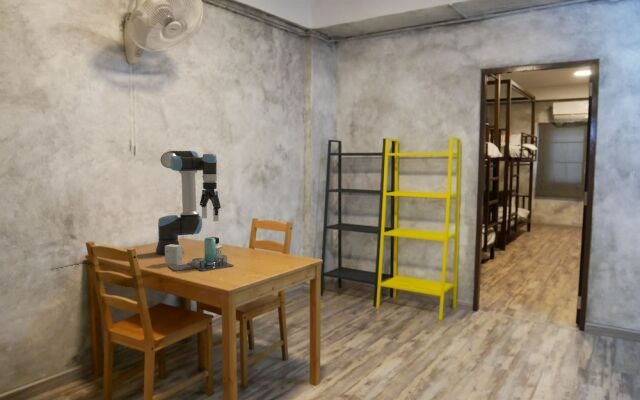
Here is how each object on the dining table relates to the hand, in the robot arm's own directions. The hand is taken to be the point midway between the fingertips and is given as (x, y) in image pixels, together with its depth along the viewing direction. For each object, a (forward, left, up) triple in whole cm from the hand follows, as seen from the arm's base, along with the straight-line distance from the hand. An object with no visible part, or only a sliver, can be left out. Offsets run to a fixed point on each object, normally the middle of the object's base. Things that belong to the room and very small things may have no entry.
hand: (210, 219), depth 254 cm
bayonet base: (0, 0, -26) cm, 26 cm away
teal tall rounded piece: (0, 0, -24) cm, 24 cm away
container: (-15, +10, -26) cm, 32 cm away
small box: (-17, -14, -26) cm, 34 cm away
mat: (-4, -15, -26) cm, 30 cm away
